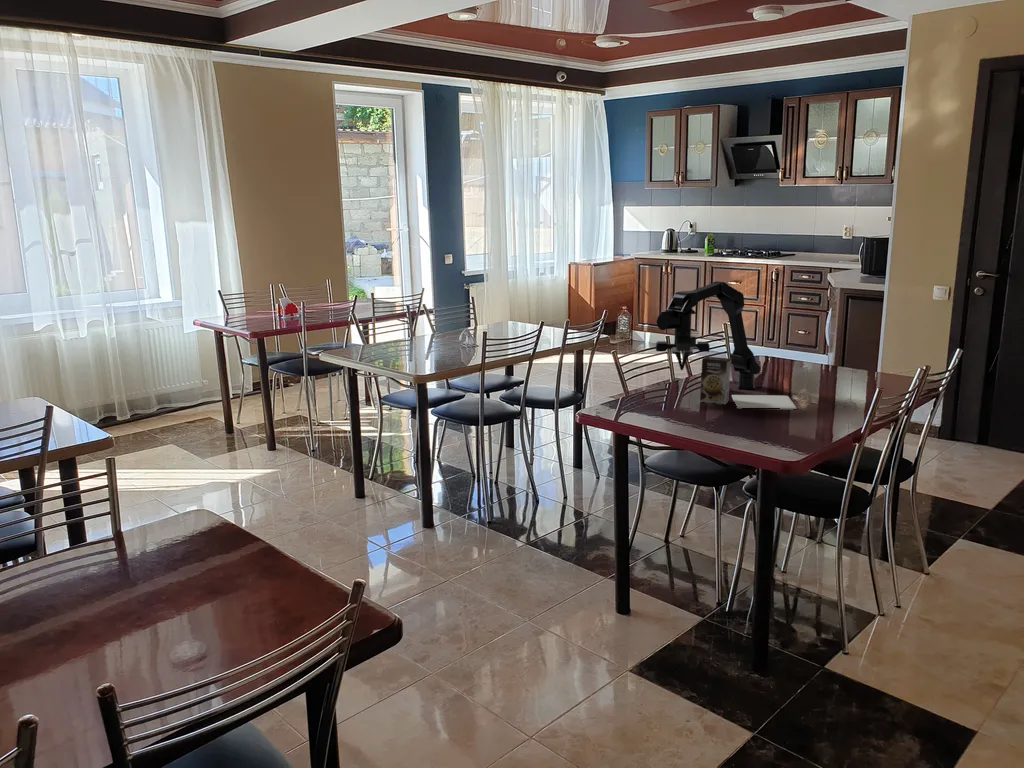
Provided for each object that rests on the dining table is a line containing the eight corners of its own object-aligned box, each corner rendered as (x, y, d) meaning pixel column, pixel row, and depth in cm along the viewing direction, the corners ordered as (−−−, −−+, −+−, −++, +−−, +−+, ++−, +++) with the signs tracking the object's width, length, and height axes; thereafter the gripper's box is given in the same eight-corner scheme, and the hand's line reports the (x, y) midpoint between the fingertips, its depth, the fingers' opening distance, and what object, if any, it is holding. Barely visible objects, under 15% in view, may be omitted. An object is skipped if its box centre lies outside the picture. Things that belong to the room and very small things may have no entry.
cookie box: (699, 402, 287) (701, 359, 283) (704, 398, 292) (705, 356, 289) (725, 405, 282) (726, 360, 279) (729, 401, 288) (730, 357, 284)
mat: (731, 396, 295) (731, 394, 295) (787, 397, 292) (787, 395, 291) (737, 408, 277) (737, 406, 277) (796, 409, 274) (796, 407, 274)
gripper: (656, 330, 277) (656, 374, 280) (711, 330, 274) (709, 374, 277) (656, 326, 288) (655, 367, 291) (708, 326, 285) (707, 368, 288)
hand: (681, 369), depth 287 cm, fingers closed
